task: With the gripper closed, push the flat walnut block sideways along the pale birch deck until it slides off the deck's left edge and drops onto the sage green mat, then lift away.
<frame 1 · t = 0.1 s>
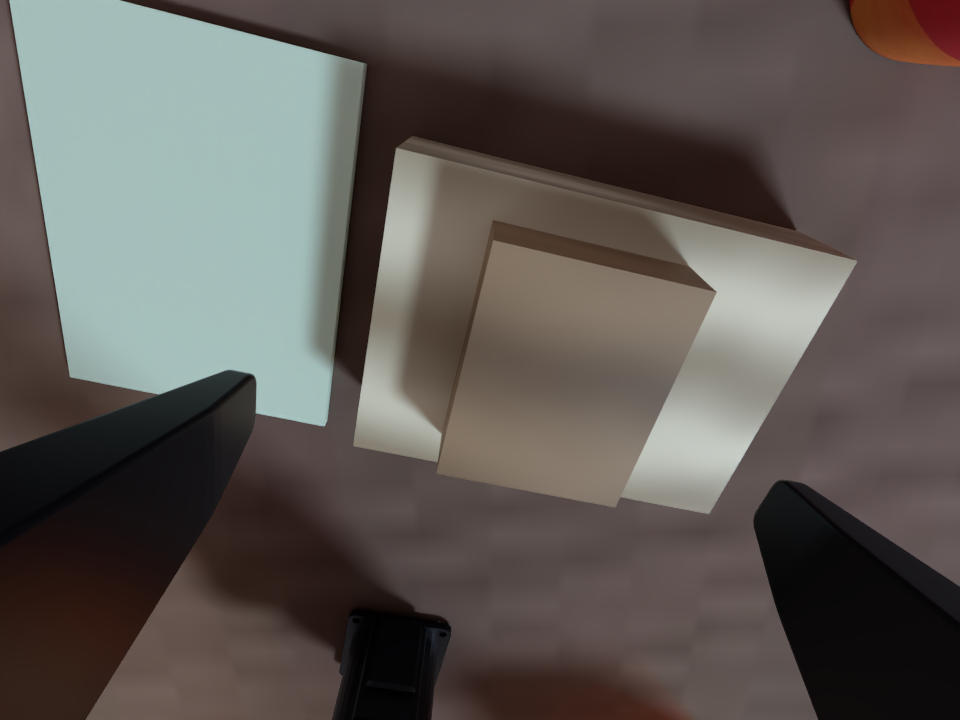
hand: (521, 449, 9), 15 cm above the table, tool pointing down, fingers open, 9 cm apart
birch deck: (566, 320, 24), on the table
walnut block: (554, 357, 20), point 4 cm above the table, touching birch deck
sage mat: (201, 239, 22), on the table
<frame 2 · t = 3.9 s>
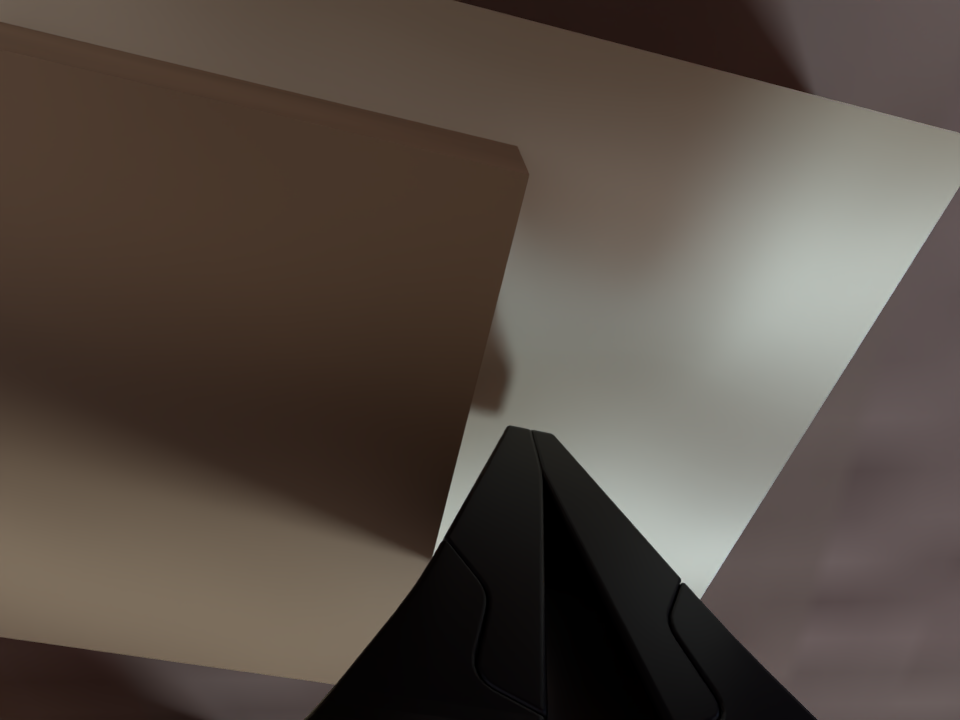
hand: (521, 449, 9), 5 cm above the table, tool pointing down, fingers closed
birch deck: (397, 305, 13), on the table
walnut block: (257, 370, 9), point 4 cm above the table
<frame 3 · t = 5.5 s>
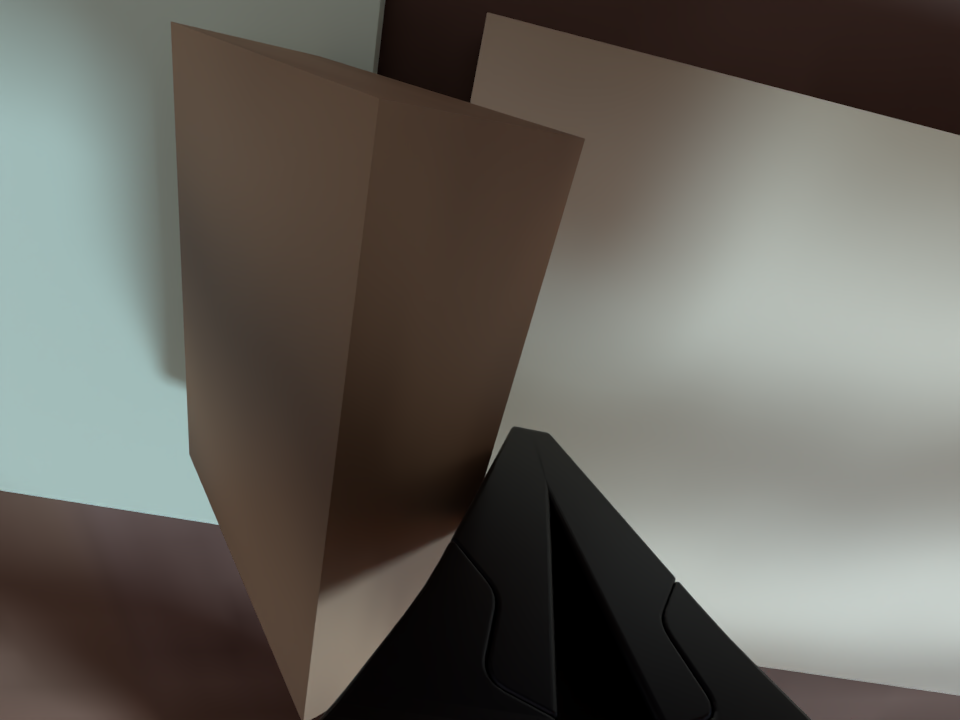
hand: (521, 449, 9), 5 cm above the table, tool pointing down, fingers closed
birch deck: (732, 372, 14), on the table
walnut block: (375, 347, 10), point 3 cm above the table, tilted 52°, touching gripper, sage mat
sage mat: (96, 243, 12), on the table
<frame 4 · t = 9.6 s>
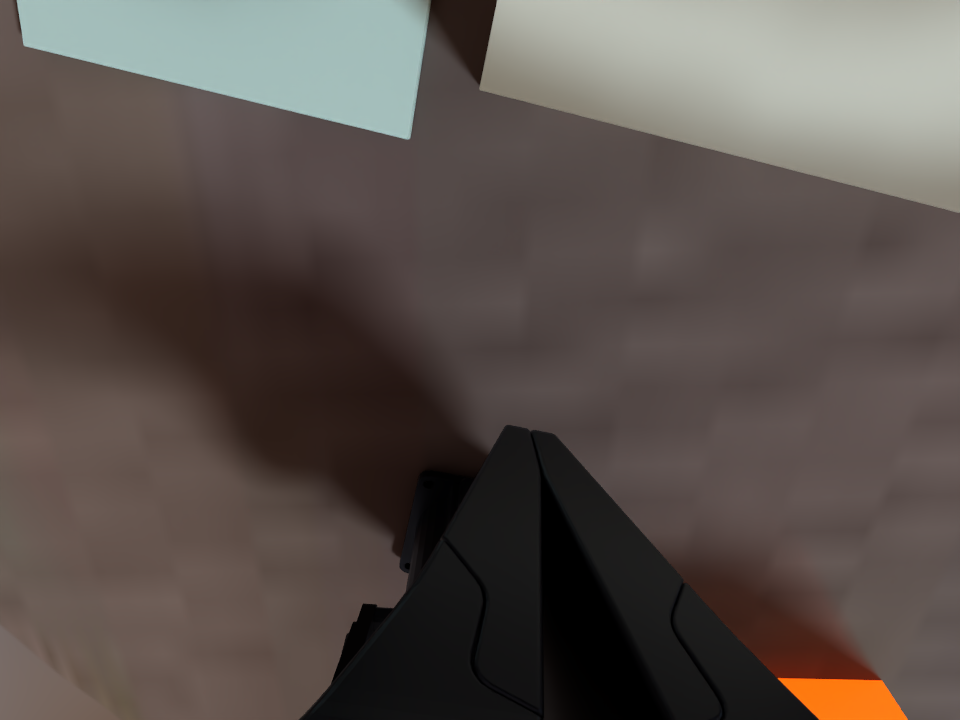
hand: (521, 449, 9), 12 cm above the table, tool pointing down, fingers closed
orange juice: (789, 711, 33), on the table
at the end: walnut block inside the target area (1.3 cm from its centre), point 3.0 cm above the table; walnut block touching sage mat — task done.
